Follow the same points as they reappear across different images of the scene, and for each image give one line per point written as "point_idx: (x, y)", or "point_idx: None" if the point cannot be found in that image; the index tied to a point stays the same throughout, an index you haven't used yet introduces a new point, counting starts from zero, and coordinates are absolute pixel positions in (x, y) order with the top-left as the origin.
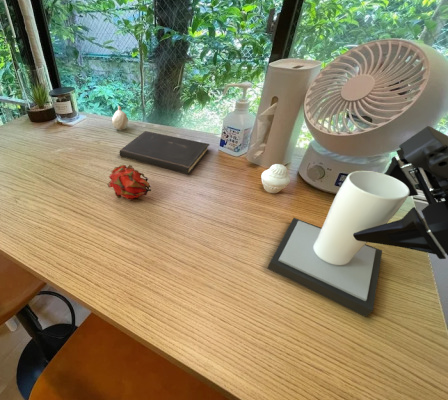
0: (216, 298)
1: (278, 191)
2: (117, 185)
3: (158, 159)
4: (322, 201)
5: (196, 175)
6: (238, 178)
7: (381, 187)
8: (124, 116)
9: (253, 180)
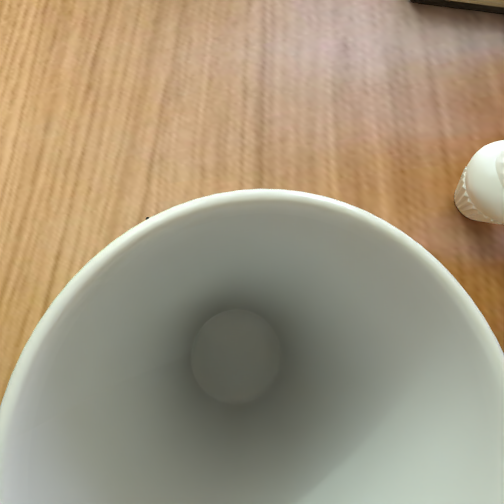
0: (21, 144)
1: (469, 217)
2: None
3: None
4: (498, 338)
5: (420, 20)
6: (472, 116)
7: (413, 493)
8: None
9: None
